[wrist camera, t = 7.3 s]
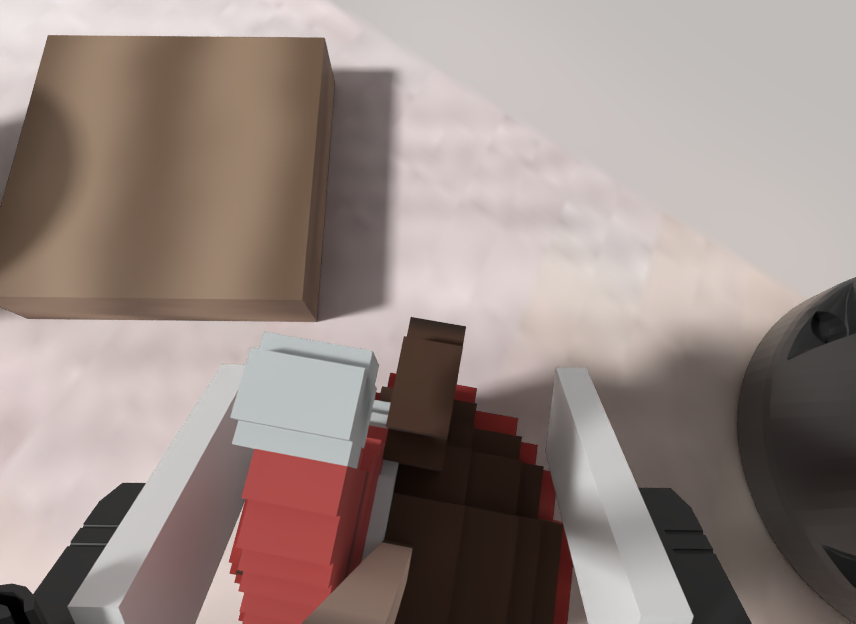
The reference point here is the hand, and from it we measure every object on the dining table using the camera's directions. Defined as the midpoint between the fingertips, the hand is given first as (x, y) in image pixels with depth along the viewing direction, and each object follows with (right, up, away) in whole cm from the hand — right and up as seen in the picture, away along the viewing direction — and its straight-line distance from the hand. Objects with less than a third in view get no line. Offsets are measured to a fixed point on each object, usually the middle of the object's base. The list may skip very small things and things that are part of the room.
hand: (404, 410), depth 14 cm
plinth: (-11, +8, +12) cm, 18 cm away
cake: (0, -6, +7) cm, 9 cm away
